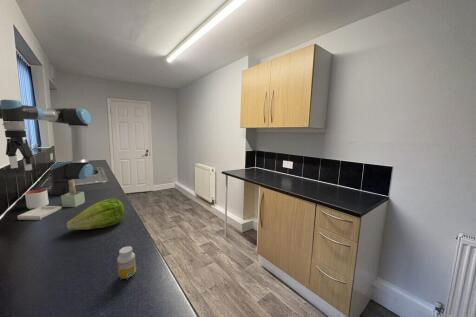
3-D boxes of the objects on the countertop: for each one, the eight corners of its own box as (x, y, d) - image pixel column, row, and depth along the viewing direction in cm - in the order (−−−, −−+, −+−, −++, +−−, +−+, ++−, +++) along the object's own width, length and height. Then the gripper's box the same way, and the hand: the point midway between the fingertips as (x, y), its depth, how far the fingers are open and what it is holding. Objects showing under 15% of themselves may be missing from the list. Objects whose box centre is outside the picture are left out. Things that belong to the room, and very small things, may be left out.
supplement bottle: (123, 269, 73) (121, 245, 72) (138, 269, 73) (137, 244, 72) (115, 281, 68) (113, 254, 66) (132, 280, 68) (130, 254, 67)
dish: (42, 209, 124) (41, 205, 124) (61, 209, 124) (61, 206, 124) (18, 219, 110) (17, 215, 110) (40, 220, 110) (39, 215, 110)
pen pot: (72, 203, 135) (71, 191, 134) (85, 203, 135) (83, 191, 134) (62, 207, 127) (60, 195, 126) (75, 208, 127) (74, 195, 126)
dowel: (73, 203, 132) (70, 179, 130) (78, 203, 133) (75, 179, 130) (69, 205, 130) (67, 181, 127) (74, 205, 130) (71, 181, 127)
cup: (53, 204, 133) (51, 189, 132) (36, 210, 123) (34, 194, 122) (39, 203, 134) (37, 188, 133) (22, 209, 124) (20, 193, 123)
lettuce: (65, 214, 102) (60, 209, 91) (118, 198, 118) (120, 191, 106) (72, 241, 100) (69, 240, 89) (126, 221, 115) (129, 217, 104)
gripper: (-8, 129, 107) (-1, 168, 111) (18, 130, 99) (25, 172, 102) (12, 129, 114) (17, 165, 118) (38, 130, 106) (43, 169, 109)
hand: (21, 169), depth 110 cm, fingers open, 13 cm apart
